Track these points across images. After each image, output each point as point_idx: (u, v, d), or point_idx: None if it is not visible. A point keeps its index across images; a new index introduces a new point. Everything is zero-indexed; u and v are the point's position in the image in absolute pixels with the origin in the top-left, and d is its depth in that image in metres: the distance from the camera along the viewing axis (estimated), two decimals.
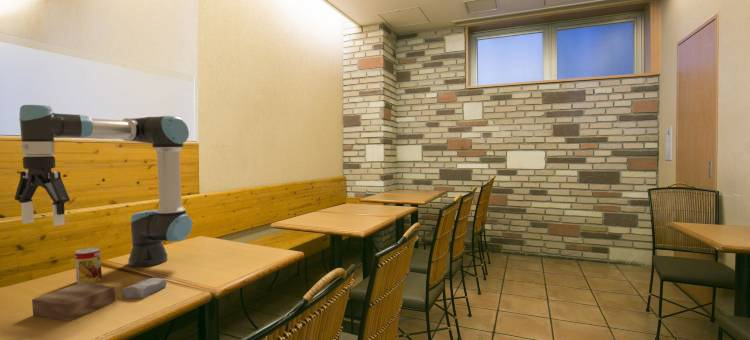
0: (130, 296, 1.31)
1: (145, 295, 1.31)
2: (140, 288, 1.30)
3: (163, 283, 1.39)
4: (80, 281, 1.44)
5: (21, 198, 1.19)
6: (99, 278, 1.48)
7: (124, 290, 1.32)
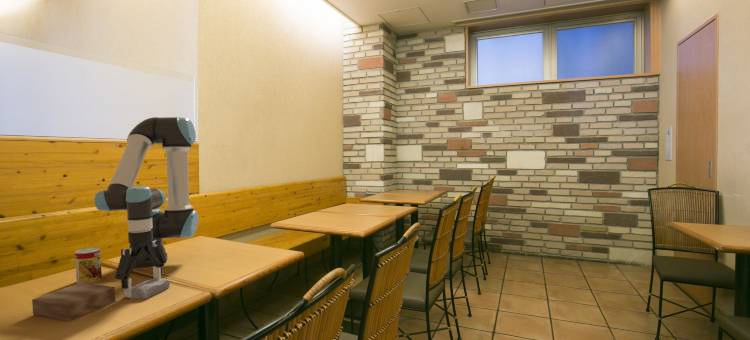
0: (134, 297, 1.30)
1: (149, 296, 1.31)
2: (143, 289, 1.30)
3: (167, 283, 1.39)
4: (80, 281, 1.44)
5: None
6: (99, 278, 1.48)
7: None
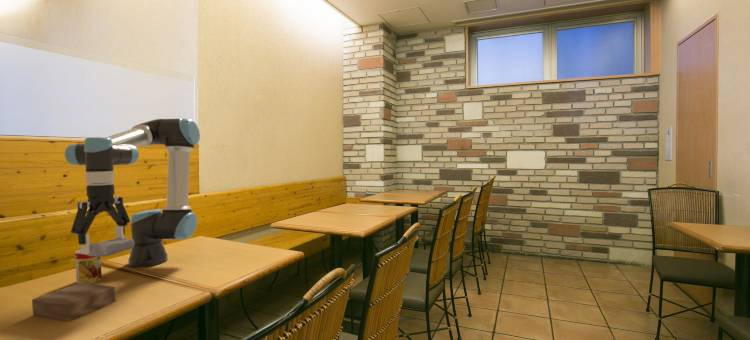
0: (92, 254, 1.21)
1: (109, 253, 1.22)
2: (102, 245, 1.21)
3: (131, 243, 1.30)
4: (80, 281, 1.44)
5: None
6: (99, 278, 1.48)
7: None
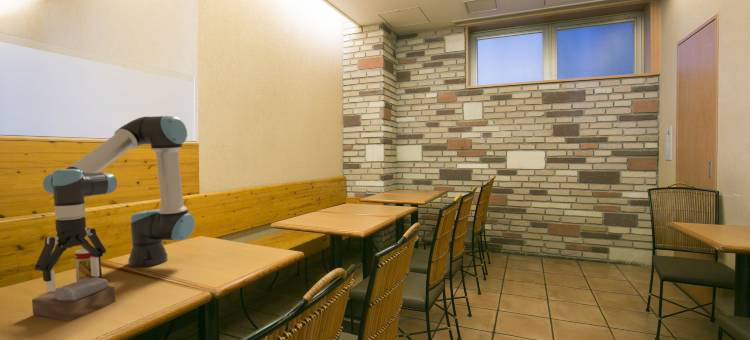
0: (61, 298, 1.16)
1: (78, 297, 1.17)
2: (71, 289, 1.16)
3: (104, 283, 1.25)
4: None
5: None
6: None
7: (56, 291, 1.17)
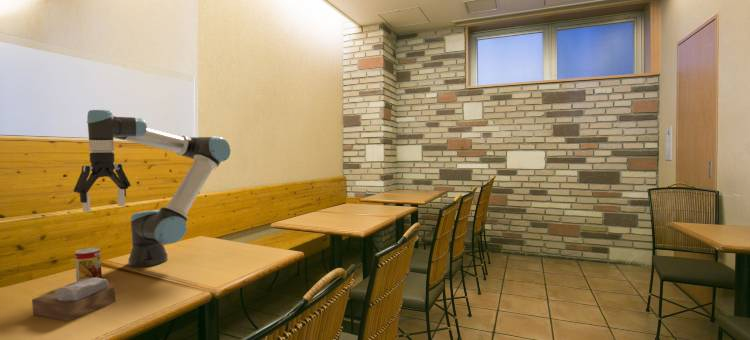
0: (62, 298, 1.16)
1: (79, 297, 1.17)
2: (73, 289, 1.16)
3: (104, 283, 1.25)
4: None
5: None
6: None
7: (56, 291, 1.17)
